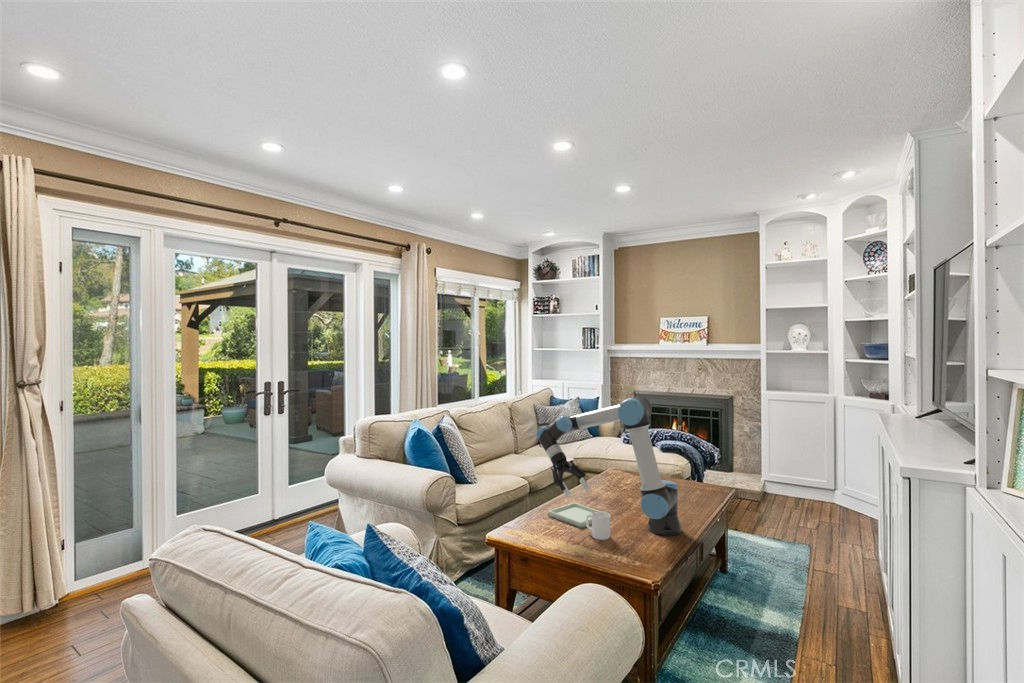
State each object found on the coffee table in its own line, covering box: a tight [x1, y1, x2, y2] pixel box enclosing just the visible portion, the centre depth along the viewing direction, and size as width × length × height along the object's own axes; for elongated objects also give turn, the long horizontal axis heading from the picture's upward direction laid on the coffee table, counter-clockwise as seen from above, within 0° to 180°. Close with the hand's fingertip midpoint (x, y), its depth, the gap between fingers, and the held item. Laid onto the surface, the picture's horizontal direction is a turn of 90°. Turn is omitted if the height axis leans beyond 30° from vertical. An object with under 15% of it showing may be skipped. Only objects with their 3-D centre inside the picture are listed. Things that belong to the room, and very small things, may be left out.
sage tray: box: [547, 502, 602, 529], centre depth 257 cm, size 22×20×2 cm
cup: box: [585, 511, 611, 541], centre depth 233 cm, size 8×12×10 cm
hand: (578, 493), depth 241 cm, fingers open, 13 cm apart
